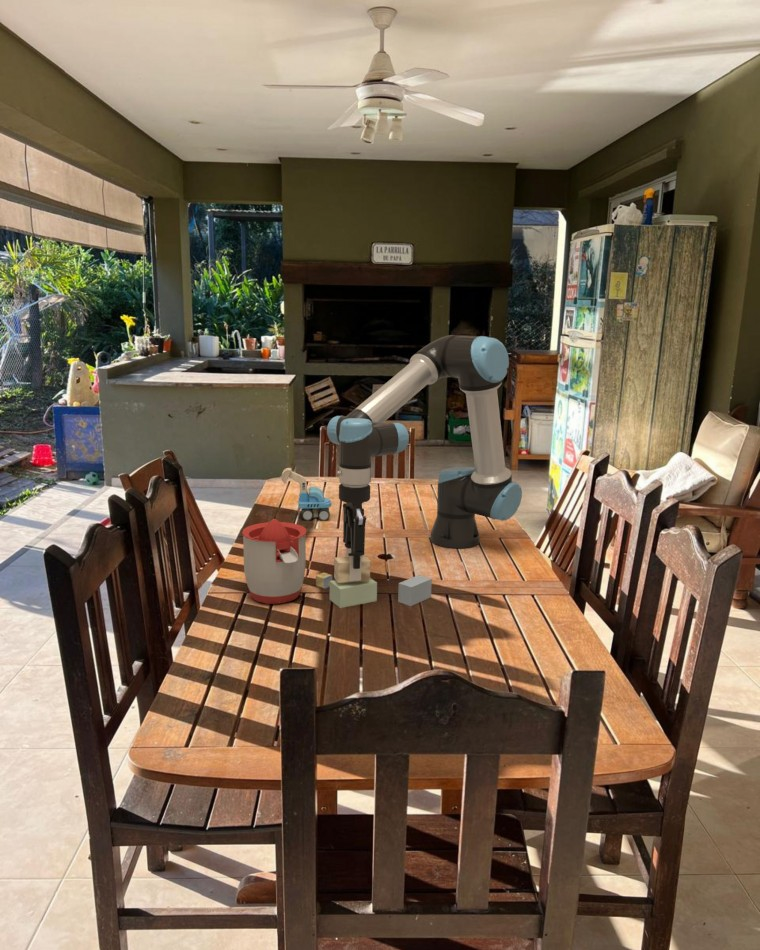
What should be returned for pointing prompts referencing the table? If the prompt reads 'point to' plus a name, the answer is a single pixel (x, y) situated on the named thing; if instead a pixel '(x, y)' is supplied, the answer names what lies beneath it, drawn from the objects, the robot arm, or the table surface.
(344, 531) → the robot arm
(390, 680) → the table surface
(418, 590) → the slate brick
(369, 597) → the sage brick
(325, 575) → the alphabet block
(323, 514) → the toy excavator
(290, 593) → the citrus juicer
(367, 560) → the maple brick
